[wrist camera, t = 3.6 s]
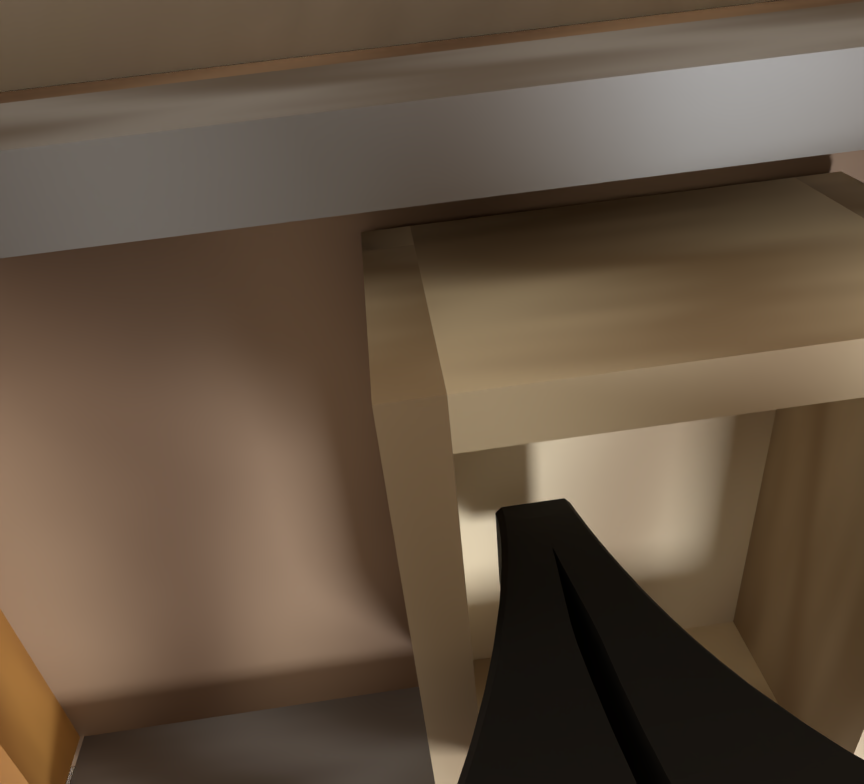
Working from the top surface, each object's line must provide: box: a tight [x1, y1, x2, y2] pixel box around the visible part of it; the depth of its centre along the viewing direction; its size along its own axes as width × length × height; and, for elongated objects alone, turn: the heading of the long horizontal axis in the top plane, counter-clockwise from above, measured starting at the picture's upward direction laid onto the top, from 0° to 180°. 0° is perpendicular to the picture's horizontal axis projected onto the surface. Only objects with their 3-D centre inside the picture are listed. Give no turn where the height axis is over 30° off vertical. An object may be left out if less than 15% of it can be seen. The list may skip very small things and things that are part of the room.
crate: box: [361, 171, 864, 784], centre depth 13 cm, size 8×11×5 cm
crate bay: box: [0, 0, 864, 784], centre depth 13 cm, size 22×16×6 cm
